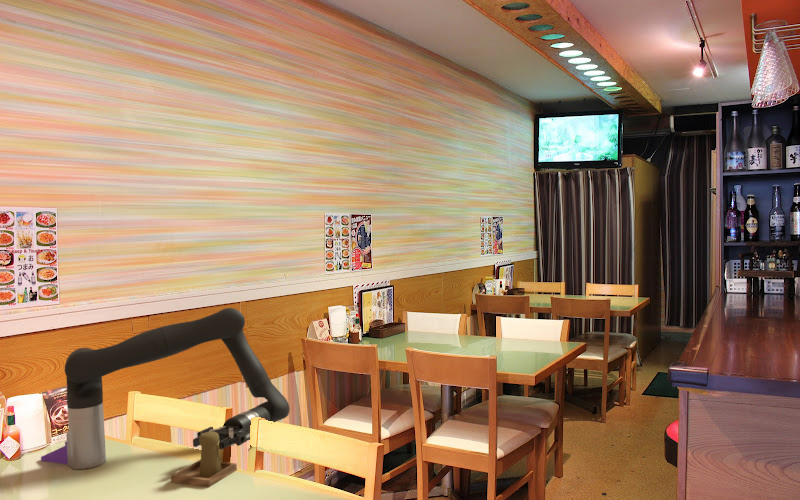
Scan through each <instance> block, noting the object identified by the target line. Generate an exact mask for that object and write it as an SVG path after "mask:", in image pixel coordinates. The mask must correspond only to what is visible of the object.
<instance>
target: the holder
mask: <svg viewBox="0 0 800 500" xmlns="http://www.w3.org/2000/svg"><path fill="white" fill-rule="evenodd" d="M200 461H201V459H199V460H197V461H196V462H194V463H192V464H190V465H188V466H186V467H185V468H183V469H181V470H179V471H177V472H175V473H174V474H171V475H170V482H171V483H173V484H179V485H180V484H181V485H189V486H196V487H203V488H205V487H206V488H210V487H212V486H213V485H215V484H216V483H218V482H220V481H221V480H223V479H225V478H227V477H228V476H230V475H231V474H233V473H235V472H236V471H237V470H238V467H237V466H238V465H237V463H235V462H224V461H221V466H222V470H221V471H220V472H218V473H216V474H214V475H213V476H211V477H209V478H203V477H200V476H199V473H200Z"/></svg>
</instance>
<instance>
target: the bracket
mask: <svg viewBox="0 0 800 500" xmlns="http://www.w3.org/2000/svg"><path fill="white" fill-rule="evenodd" d="M40 461H41V462H48V463H55V464H63V465H68V456H67V440H66V441H64V445H63V446H62V447H59V448H57V449H55V450H53V451H51V452H48V453H45V454H44V455H41V456H40Z"/></svg>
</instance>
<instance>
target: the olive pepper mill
mask: <svg viewBox="0 0 800 500" xmlns="http://www.w3.org/2000/svg"><path fill="white" fill-rule="evenodd" d="M219 442H220V441H219V435H218V433H217V432H205V433H203V434H201V435H200V438H199V443H200V445H199V446H201V452H200V460H201V461H200V473H199V476H200V477H203V478H209V477H211V476H213V475H214V474H216V473H218V472H220V471H221V470H222V466H221V462H222V461H221V456H220V451H219V450H220V449H219Z"/></svg>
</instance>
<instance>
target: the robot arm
mask: <svg viewBox="0 0 800 500" xmlns="http://www.w3.org/2000/svg"><path fill="white" fill-rule="evenodd" d="M245 319H246V318H245V317H244V315H243V313H242V312H241V311H240V310H238V309H237V308H234V307H226V308H222V309H221V310H219V311H217V312H215V313H212V314H210V315H207V316H205V317H202V318H198V319H195V320H191V321H185V322H179V323H172V324H168V325H163V326H160V327H157V328H156V327H155V328H152V329H150V330H146V331H144V332H140V333H139V334H136V335H134V336H132V337H129V338H127V339H125V340H123V341H121V342H119V343H117V344H114V345H110V346H106V347H102V348H98V349H92V348H90V347H80V348H77V349H75V350H73V351H71V353H70V354H69V355H68V356H67V358H66V360H65V365H64V374H65V375H66V377H65V378H66V404H67V405H66V407H67V423H68V424H67V425H68V426H67V427H68V431H67V432H66V434H65V435H66V441H67V456H68V464H67V466H69V467H70V468H72V469H73V470H74V469H75V470H83V469H91V468H94V467H98V466H101V465H103V464H104V463H106V461H107V454H106V453H107V452H106V432H105V415H104V398H103V397H104V396H103V395H104V391H103V377H104V376H107V375H109V374H112V373H114V372H117V371H120V370H122V369H126V368H127V369H128V368H132V367H136V366H139V365H144V364H147V363H152V362H156V361H158V360H162V359H165V358H168V357H172V356H174V355H176V354H180V353H182V352H185V351H187V350H189V349H191V348H194V347H196V346H199V345H201V344H204V343H208V342H212V341H216V340H221V341H222V342H223V344H224V345H225V346H226V348H227V349H228V351H229V353H230V354H231V356H232V358H233V359H234V361H235V364H236V366H237V368H238V370H239V372H240V374H241V376H242V378H243V380H244V382H245V384H246V386H247V388H248V390H249V392H250V393H251V395H252V396H253V398H257V399H258V398H264V399H265V400H266V401H264V402H262V403H259V404H258V405H256V406H254V407H253V408H251V409H248V410H246V411H243V412H240V413H238V414H236V415H233V416H232V417H229V418H228V419H226V420H225V421H224V422H223V425H222V426H219V427H218V428H214V426H209V427H207V428H204V429H203V430H200V431H198V432H196V437H195V438H193V440H192V446H193V447H194V448H197V447H199V446H201V445H200V443H199V438H200V435H201V434H203V433H205V432H217V433H218V435H219V443H218V450H224V449H227V448H228V447H232V446H234V445H236V446H237V447H238V446H239V447H240V446H242V445H243V444H244V443H247V442H248V441H249V440H251V437H250V425H251V418H253V417H261V418H265V419H266V420H268V421H273V422H274V423H276V422H279V421H281V420H284V419H285V418H286V419H287V417H288V416H289V414H290V404H289V402H288V399H287V398H286V397H285V396H284V395H283V394H282V393H281V392H280V390H279V389H278V388H277V387H276V386H275V385H274V384H273V382H272V381H271V378H270V377H269V375H268V373H267V372H266V369H265V367H264V366H263V364H262V363H261V361H260V360H259V358H258V357H257V355H256V354H255V352H254V351H253V349H252V347H251V345H250V344H249V342H248V340H247V338H246V335H245V332H244V327H245V324H246V320H245Z"/></svg>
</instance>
